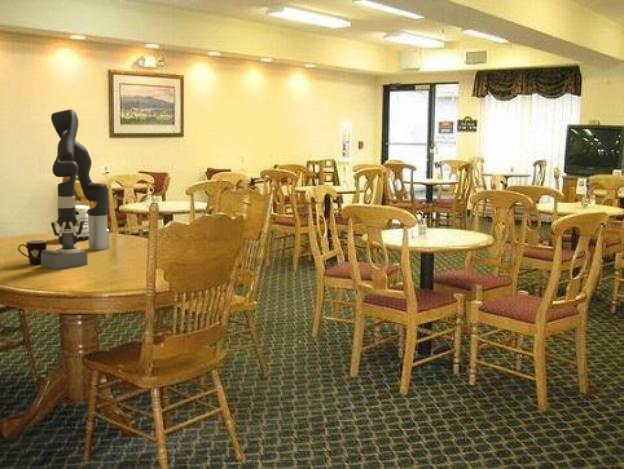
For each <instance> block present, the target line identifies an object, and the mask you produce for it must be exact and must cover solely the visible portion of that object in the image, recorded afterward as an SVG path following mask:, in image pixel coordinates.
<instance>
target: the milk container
mask: <svg viewBox="0 0 624 469" xmlns="http://www.w3.org/2000/svg"><path fill="white" fill-rule="evenodd" d="M89 209H90V206H88V205H82V204H81V205H77V204H76V219H77V221H83V227H82V231H81V234H80V235H77V241H81V240H88V239H89V230H88V210H89ZM60 228H61V227H60V226H59V225H58V229H57V230H58V232H57V233H59V231H60ZM74 229H75V231H76V232H78V229H79V225H78V223H76V225H75V226H74ZM65 230H72V229H65Z"/></svg>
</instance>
